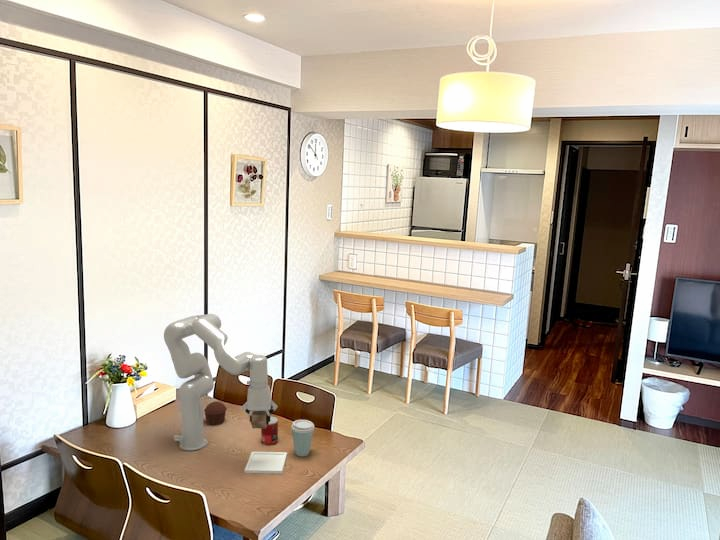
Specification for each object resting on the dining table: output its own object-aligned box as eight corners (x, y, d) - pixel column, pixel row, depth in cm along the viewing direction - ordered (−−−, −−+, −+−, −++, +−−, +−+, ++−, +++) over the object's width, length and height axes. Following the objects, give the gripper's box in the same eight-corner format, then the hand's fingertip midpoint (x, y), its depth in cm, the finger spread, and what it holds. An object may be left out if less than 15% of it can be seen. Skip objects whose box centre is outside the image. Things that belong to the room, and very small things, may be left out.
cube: (252, 428, 235) (251, 415, 234) (254, 422, 241) (254, 409, 240) (265, 428, 235) (265, 415, 234) (268, 422, 241) (267, 409, 240)
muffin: (202, 418, 282) (202, 400, 281) (224, 415, 287) (224, 397, 285) (206, 428, 272) (206, 409, 270) (228, 424, 276) (228, 406, 275)
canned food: (274, 446, 255) (274, 424, 254) (258, 444, 257) (258, 422, 255) (280, 438, 263) (280, 417, 261) (264, 436, 264) (264, 415, 263)
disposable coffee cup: (304, 445, 257) (304, 415, 254) (319, 453, 249) (319, 423, 247) (286, 452, 249) (286, 422, 247) (300, 461, 242) (301, 430, 239)
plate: (244, 473, 231) (244, 470, 231) (251, 454, 247) (251, 451, 247) (282, 474, 231) (282, 470, 231) (287, 455, 247) (286, 452, 247)
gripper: (237, 387, 231) (238, 427, 234) (277, 387, 231) (278, 427, 234) (240, 380, 238) (242, 419, 241) (280, 380, 239) (281, 419, 241)
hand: (260, 422), depth 238 cm, fingers closed on cube, 6 cm apart
